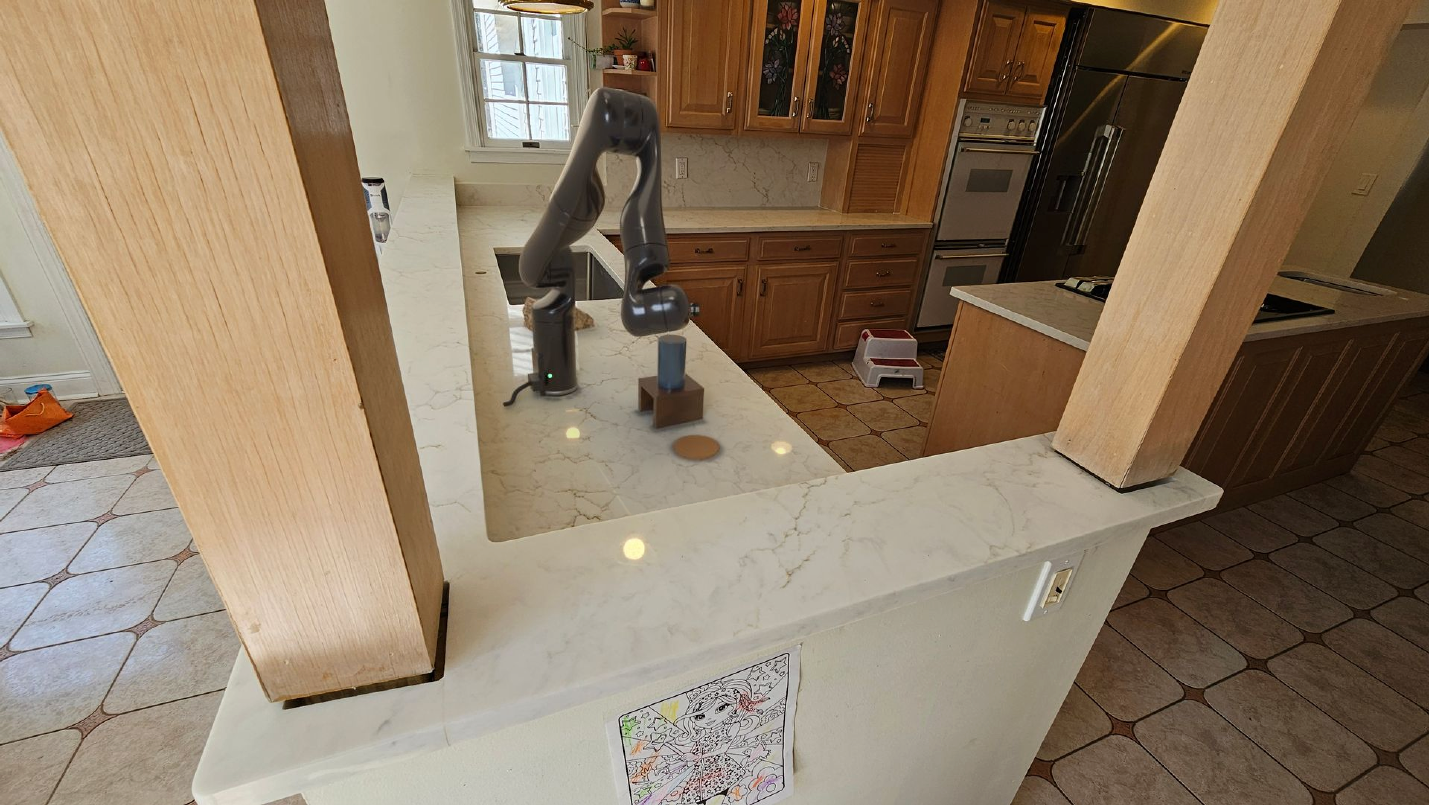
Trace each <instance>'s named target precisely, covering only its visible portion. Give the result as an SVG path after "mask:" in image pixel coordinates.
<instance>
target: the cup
mask: <svg viewBox="0 0 1429 805" xmlns="http://www.w3.org/2000/svg"><path fill="white" fill-rule="evenodd" d="M687 341H688V340H687V338H686V337H685V336H683V335H680V334H663V335H660V336H658V337H657V353H656V354H657V358H656V359H657V360H656V376H657V384H658V385H659V386H660V387H663V388H668V389H676V388H680V387H683V386H684V385H685V373H686V368H687V366H686V365H687V345H688V344H687V343H688V342H687Z"/></svg>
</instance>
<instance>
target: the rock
mask: <svg viewBox="0 0 1429 805" xmlns="http://www.w3.org/2000/svg"><path fill="white" fill-rule="evenodd" d="M540 299H541V298H536V299H535V298H532V297H529V296H527V297H526V299H525V302H524V305H523V306H522V310H521V311H522V315H523V320H524V321H523V326H524V328H526V329H527V330H530V331H532V317H531V306H532V305H533V303H535V302H536V301H538V300H540ZM574 325H575V332H576V331H581V330H586V329H591V328H594V327H595V326H596V325H595V319H594V318H593V317H592V316H591V315H589V313H588V312H585V311H584V310H582V309H580V308H578V307H577V306H576V305H575V309H574Z"/></svg>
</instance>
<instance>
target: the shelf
mask: <svg viewBox="0 0 1429 805" xmlns="http://www.w3.org/2000/svg"><path fill="white" fill-rule="evenodd" d="M637 380H638V381H637V382H638V384H637V386H638V388H637V390H638V391H637V393H638V394H637V408H638V410H639V412H641V413H642V412H646V411H647V412H648V411H653V415H652V417H653V418H652V426H653V427H654V429H655V430H658V429H663V428H668V427H673V426H677V425H681V424H685V423H691V422H696V421H700V420H703V419H704V418H703V417H704V401H705V400H704V399H705V398H704V397H705V387H703V386H702V385H701V384H699V383H698V382H697V381H696V380H695V379H694V378H692V377H691V376H690V375H689V374H688V373H686V372H685V385H684V386H683V387H680V388H676V389H668V388H663V387H660V386H659V385H658V384H657V375H653V376H645V377H639V378H638V379H637Z"/></svg>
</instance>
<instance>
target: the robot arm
mask: <svg viewBox="0 0 1429 805" xmlns="http://www.w3.org/2000/svg"><path fill="white" fill-rule="evenodd" d="M661 134H662V133H661V122H660V115H659V112H658V108H657V105H656V104H655V102H654V101H653V100H652V98H650V97H647V96H645V95H642V94H638V93H634V92H630V91H626V90H622V89H618V88H615V87H614V88H613V87H607V86H601V87H598V88H596V89H595V90H594V91H593V92H592V93H591V95H590V96H589V98H588V101H587V102H586V105H585V108H584V111H583V114H582V117H581V120H580V123H579V125H578V129H577V133H576V134H575V138H574V142H573V145H572V148H571V150H570V153H569V156H568V158H567V160H566V162H565V164H564V167H563V169H562V172H561V173H560V176H559V178H558V179H557V181H556V183H555V185H554V188H553V190H552V193H551V195H550V197H549V200H548V202H547V205H546V207H545V209H544V212H543V214H542V216H541V218H540V220H539V222H538V224H537V226H536V227H535V229H534V230H533V233H531V235H530V237H529V238H528V240H527V241H526V242H525V244H524V246H523V248H522V249H521V253H520V255H519V260H518V272H519V276H520V279H521V281H522V283H523V284H524V285H525V286H526V287H528V288H531V289H535V290H542V289H543V290H544V289H550V290H549V292H548V293H547V294H545V295H544V296H543V297H541V298H539V299H540V300H538V301H536V302H535V303H533V305H532V306H531V317H532V330H531V332H532V346H533V347H531V350H530V351H531V362H532V372H531V373H527V382H525V383H523V384H521V385H520V386H518V387H517V388H515V389H514V391H513V392H512V393H511V397H510V399H509V400H508V401H504V402H502V405H503V408H506V407H510V406H511V405H513V404H514V403H515V402H516V399H517V396H518V394H520V393H521V392H522V391H523V390H525V389H526V388H529V387H530V388H531V391H532V392H538V394H539V396H565V395H568V394H571V393H574V392H575V391H576V390H577V389H578V377H577V350H576V331H575V325H574V309H575V306H576V302H577V301H576V300H577V299H576V291H577V290H576V288H577V287H576V286H577V283H576V282H577V268H576V266H577V265H576V259H575V254H574V252H573V250H572V248H571V247H570V246H572V245H573V244H575V243H576V242H578V241H580V240H581V239H582V238H584V237H585V236H586V235H588V234H589V232H590V231H591V230H592V229H593V228H594V227H595V225H596V223H597V221H598V220H599V217H600V215H602V212H603V210H604V207H605V204H606V193H605V188H604V184H603V182H602V178H601V175H600V173H599V170H598V165H597V164H598V160H599V159H600V157H601V156H602V155H603V154H604V153H614V154H618V155H625V156H629V157H633V158H634V160H635V165H636V178H635V181H634V183H633V186H632V189H631V191H630V193H629V195H628V197H627V199H626V201H625V203H624V205H623V208H622V211H621V213H620V218H619V235H620V242H621V248H622V254H623V260H624V284H623V292H622V300H621V304H620V305H621V306H620V319H621V323H622V325H623V327H624V329H625V330H626V332H627V333H628V334H630V336H633V337H636V338H641V337H648V336H654V335H659V334H664V333H670V332H677V331H681V330H683V329H685V328H686V327H687V326H688V325H689V323H690V320H691V317H695V318H698V317H700V316H701V315H702V314H701V313H702V312H701V303H700V302H697V301H695V302H692V303H691V300H690V298H689V295H688V294H687V292H686V290H685V289H684V288H683V287H682V286H681V285H679V284H676V283H675V284H672V283H671V284H665V285H658V286H653V287H652V286H651V287H647V288H644V286H645V285H646V283H648V282H649V281H651V280H653V279H655V278H658V277H660V276H662V275H664V274H665V273H667V272H668V271H669V269H670V267H671V256H670V255H671V254H670V250H669V244H668V236H667V231H666V225H665V221H664V210H663V196H662V195H663V194H662V193H663V192H662V188H663V187H662V186H663V184H662V182H663V181H662V136H661Z"/></svg>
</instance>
